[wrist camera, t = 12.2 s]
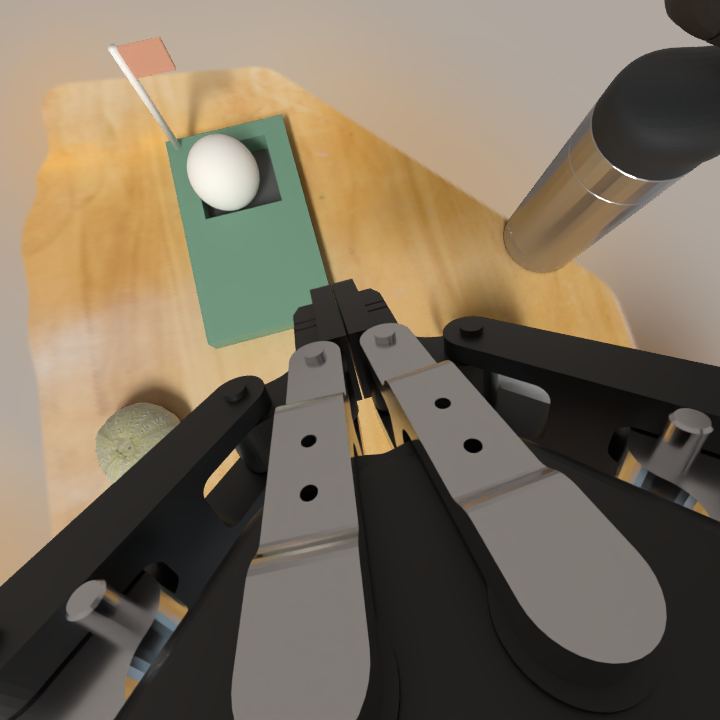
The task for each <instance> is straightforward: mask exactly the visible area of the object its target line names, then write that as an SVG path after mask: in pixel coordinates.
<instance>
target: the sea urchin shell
mask: <svg viewBox="0 0 720 720" xmlns="http://www.w3.org/2000/svg"><path fill="white" fill-rule="evenodd" d="M179 423H180V420H179V419H178V418H177V417H176V416H175V414H173V413H172V412H169V411H168V410H166V408H164V407H162V406H159V405H154V404H151V403H147V402H142V403H138V402H137V403H135V404H132V405H130V406H127V407H123V408H121V409H120V410H119V411H118V412H116V413H115V414H114V415H113V416H111V417H110V418H109V419H107V421H106V423H105V424H104V425H103V426H102V427H101V429H100V430H99V431H98V435H97V438H96V453H97V456H98V460H99V464H100V468H102V470H103V472H104V474H105V476H106V478H107V479H108V480H110V481H111V482H112V483H115V482H116V481H117V480H118V479H119V478H120V477H121V476H122V475H123V474H124V473H125V472H127V471H128V470H129V469H130V468H131V467H132V466H133V465H134V464H135V463H136V462H138V461H139V460H140V459H141V458H142V457H143V456H144V455H145V454H146V453H147V452H148V451H150V450H151V449H152V448H153V447H154V446H155V445H156V444H157V443H158V442H159V441H161V440H162V439H163V438H164V437H165V436H166V435H167V434H168V433H169V432H170V431H171V430H173V429H174V428H175V427H176V426H177V425H178V424H179Z"/></svg>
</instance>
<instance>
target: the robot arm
mask: <svg viewBox="0 0 720 720" xmlns="http://www.w3.org/2000/svg"><path fill="white" fill-rule="evenodd" d="M665 8H666V12H667V14H668V16H669V17H670V19H671V20H672V21H673V22H674V23H675V24H676V25H678V26H680V27H681V28H682V29H683V30H684V31H686V32H687V33H689V34H690V35H692V36H694V37H696V38H699V39H702V40H705V41H706V42H708V43H710V44H713V45H714V46H706V47H705V46H704V47H682V48H668V49H662V50H657V51H654V52H651V53H648V54H645V55H643V56H641V57H639V58H638V59H636V60H634V61H633V62H631V63H630V64H629V65H628V66H626V67H625V68H624V69H623V70H622V71H621V72H620V73H619V74H618V75H617V76H616V77H615V79H614V80H613V81H612V82H611V84H610V85H609V86H608V88H607V89H606V90H605V92H604V93H603V95H602V96H601V97H600V98H599V100H598V101H597V102H596V104H595V105H594V106H593V108H592V109H591V110H590V112H589V113H588V115H587V116H586V117H585V118H584V120H583V121H582V122H581V124H580V125H579V126H578V128H577V129H576V131H575V132H574V133H573V135H572V136H571V138H570V139H569V140H568V141H567V143H566V144H565V145H564V147H563V148H562V149H561V151H560V152H559V153H558V155H557V156H556V158H555V159H554V160H553V161H552V163H551V164H550V165H549V167H548V168H547V169H546V171H545V172H544V173H543V175H542V176H541V178H540V179H539V180H538V181H537V183H536V184H535V185H534V187H533V188H532V189H531V191H530V192H529V193H528V195H527V196H526V197H525V199H524V200H523V202H522V203H521V204H520V206H519V207H518V208H517V210H516V211H515V212H514V214H513V215H512V216H511V218H510V219H509V220H508V222H507V224H506V226H505V231H504V242H505V246H506V249H507V251H508V253H509V255H510V256H511V257H512V259H513V260H514V261H515V262H516V263H518V264H519V265H520V266H522V267H524V268H525V269H527V270H530V271H533V272H540V273H546V272H552V271H556V270H558V269H560V268H562V267H564V266H565V265H566V264H568V263H569V262H570V261H572V260H573V259H574V258H576V257H577V256H578V255H579V254H581V253H582V252H584V251H585V250H586V249H587V248H589V247H590V246H592V245H593V244H594V243H596V242H597V241H598V240H600V239H601V238H602V237H604V236H605V235H606V234H608V233H609V232H610V231H612V230H613V229H614V228H616V227H617V226H618V225H620V224H621V223H622V222H624V221H625V220H626V219H628V218H629V217H630V216H632V215H633V214H634V213H636V212H637V211H638V210H640V209H641V208H642V207H644V206H645V205H646V204H648V203H649V202H650V201H652V200H653V199H654V198H656V197H657V196H658V195H660V194H661V193H662V192H663V191H665V190H666V189H668V188H669V187H670V186H672V185H673V184H674V183H675V182H677V181H678V180H680V179H681V178H682V177H684V176H685V175H686V174H687V173H689V172H690V171H692V170H693V169H694V168H696V167H697V166H698V165H700V164H701V163H702V162H705V161H708V160H710V159H712V158H714V157H717V156H718V155H720V0H665ZM332 288H333V292H334V295H333V292H332V289H331V286H330V285H326V286H322V287H319V288H315V289H311V290H310V294H311V300H312V304H309V305H305V306H302V307H298V309H297V310H296V312H295V314H294V315H293V322H294V331H295V332H294V334H295V347H296V351H295V352H294V353H293V355H292V356H291V358H290V361H289V371H288V372H287V373H285V374H284V375H283V376H281V377H279V378H277V379H276V380H274V381H272V382H269V383H267V384H265V385H264V383H263V381H262V380H261V379H260V378H259V377H256V376H242V377H238V378H235V379H232V380H230V381H228V382H226V383H224V384H223V385H221V386H220V387H219V388H218V389H216V390H215V391H214V392H213V393H212V394H211V395H210V396H209V397H208V398H207V399H205V400H204V401H203V402H202V403H201V404H200V405H199V406H198V407H197V408H196V409H195V410H193V411H192V412H191V413H190V414H189V415H188V416H187V417H186V418H185V419H184V420H182V421H181V422H180V423H179V424H178V425H177V426H176V427H175V428H174V429H173V430H171V431H170V432H169V433H168V434H167V435H166V436H165V437H164V438H163V439H162V440H161V441H159V442H158V443H157V444H156V445H155V446H154V447H153V448H152V449H151V450H150V451H148V452H147V453H146V454H145V455H144V456H143V457H142V458H141V459H140V460H139V461H138V462H136V463H135V464H134V465H133V466H132V467H131V468H130V469H129V470H128V471H127V472H125V473H124V474H123V475H122V476H121V477H120V478H119V479H118V480H117V481H116V482H115V483H113V484H112V485H111V486H110V487H109V488H108V489H107V490H106V491H105V492H104V493H102V494H101V495H100V496H99V497H98V498H97V499H96V500H95V501H94V502H93V503H92V504H90V505H89V506H88V507H87V508H86V509H85V510H84V511H83V512H82V513H81V514H79V515H78V516H77V517H76V518H75V519H74V520H73V521H72V522H71V523H70V524H69V525H67V526H66V527H65V528H64V529H63V530H62V531H61V532H60V533H59V534H58V535H56V536H55V537H54V538H53V539H52V540H51V541H50V542H49V543H48V544H47V545H46V546H44V547H43V548H42V549H41V550H40V551H39V552H38V553H37V554H36V555H35V556H34V557H33V558H31V559H30V560H29V561H28V562H27V563H26V564H25V565H24V566H23V567H21V568H20V569H19V570H18V571H17V572H16V573H15V574H14V575H13V576H12V577H10V578H9V579H8V580H7V581H6V582H5V583H4V584H3V585H2V586H1V587H0V720H720V367H718V366H713V365H708V364H703V363H698V362H693V361H689V360H684V359H679V358H675V357H670V356H665V355H660V354H656V353H651V352H646V351H641V350H637V349H632V348H627V347H622V346H617V345H613V344H608V343H603V342H598V341H594V340H589V339H584V338H579V337H575V336H570V335H565V334H560V333H556V332H551V331H546V330H541V329H536V328H532V327H527V326H522V325H517V324H513V323H508V322H503V321H498V320H494V319H489V318H484V317H476V316H471V317H463V318H459V319H456V320H453V321H451V322H450V323H448V324H447V325H446V326H445V328H444V330H443V336H441V337H416V336H414V334H413V333H412V332H411V331H410V329H409V328H408V327H406V326H404V325H401V324H398V323H397V321H396V319H395V318H394V316H393V314H392V313H391V311H390V309H389V308H388V306H387V304H386V302H385V301H384V299H383V297H382V296H381V294H380V293H379V292H377V291H375V290H373V289H371V288H370V289H366V290H362V291H358V290H357V288H356V286H355V284H354V282H353V279H349V280H345V281H341V282H338V283H334V284H332ZM334 296H335V298H334ZM335 299H336V302H335ZM336 303H337V305H336ZM337 307H338V308H337ZM354 367H355V368H354ZM355 370H356V372H355ZM356 373H357V376H358V379H359V383H360V386H361V389H362V392H363V395H364V399H365V398H369V397H372V399H373V402H374V406H375V411H376V415H377V418H378V420H379V422H380V425H381V427H382V429H383V431H384V433H385V436H386V438H387V440H388V442H389V444H390V447H391V449H392V450H391V451H389V452H386V453H383V454H376V455H365V451H364V445H363V439H362V433H361V426H360V421H359V417H358V412H359V409H358V405H357V401H359V400H362V396H361V392H360V388H359V384H358V380H357V376H356ZM498 374H499V375H503V376H506V377H509V378H513V379H516V380H519V381H523V382H526V383H529V384H532V385H535V386H538V387H540V388H542V389H543V390H544V391H545V392H546V393H547V394H548V395H549V397H550V404H548V403H545V402H542V401H539V400H536V399H533V398H530V397H527V396H524V395H521V394H518V393H515V392H512V391H508V390H505V389H502V388H499V387H498ZM234 449H236V451H237V452H238V454H239V456H240V458H239V459H238V460H237V462H236V463H235V464H234V465H233V466H232V467H231V469H230V470H229V471H228V472H227V473H226V474H225V476H224V477H223V478H222V479H221V480H220V481H219V483H218V484H217V485H216V486H215V487H214V488H213V490H212V491H211V492H210V493H209V494H208V495H207V497H206V498H204V494H203V492H204V487H205V484H206V482H207V480H208V478H209V477H210V476H211V475H212V473H213V472H214V471H215V470H216V469H217V468H218V467H219V466H220V464H221V463H222V462H223V461H224V460H225V459H226V458H227V457H228V455H229V454H230V453H231V452H232V451H233V450H234Z"/></svg>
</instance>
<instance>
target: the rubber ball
mask: <svg viewBox="0 0 720 720" xmlns="http://www.w3.org/2000/svg"><path fill="white" fill-rule="evenodd" d="M187 173H188V178H189V181H190V183H191V185H192V187H193V189H194V191H195V192H196V193H197V195H198V196H199V197H200V198H201V199H202V200H203V201H204V202H206V203H207V204H209V205H210V206H212V207H214V208H217V209H220V210H225V211H234V210H238V209H241V208H243V207H245V206H247V205H248V204H249V203H250V202H251V201H252V200H253V199H254V197H255V196H256V194H257V191H258V188H259V182H260V176H259V170H258V166H257V163H256V161H255V159H254V157H253V155H252V154H251V152H250V151H249V150H248V149H247V148H246V146H245V145H243V144H242V143H241V142H240V141H238V140H236V139H235V138H233V137H230V136H227V135H223V134H211V135H207V136H205V137H203V138H201V139H199V140H198V141H197V142H196V143H195V144H194V145H193V147H192V148H191V150H190V152H189V155H188V159H187Z"/></svg>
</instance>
